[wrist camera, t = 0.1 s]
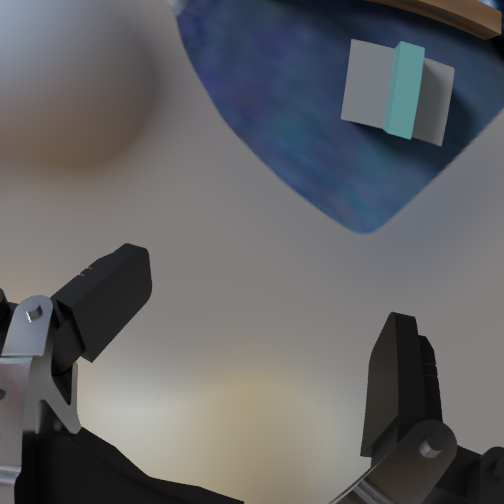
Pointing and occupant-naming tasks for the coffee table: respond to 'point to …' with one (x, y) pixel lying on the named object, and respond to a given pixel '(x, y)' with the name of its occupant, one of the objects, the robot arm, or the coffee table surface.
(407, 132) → the balance stand
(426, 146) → the coffee table surface
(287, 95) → the coffee table surface
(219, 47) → the coffee table surface
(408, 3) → the walnut beam
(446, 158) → the coffee table surface
